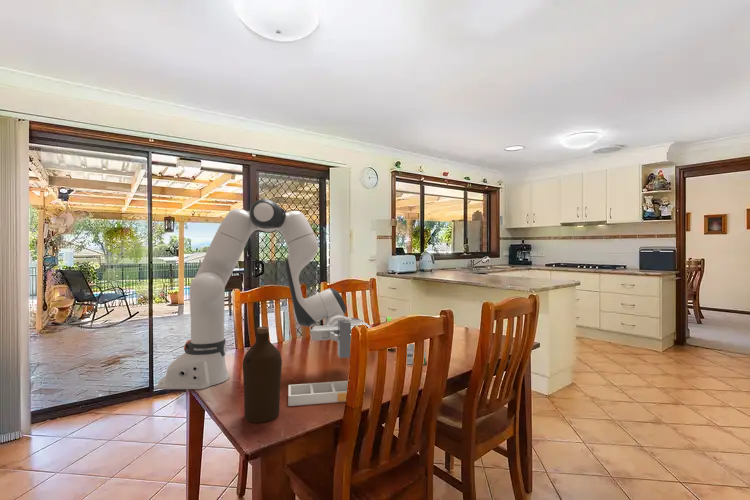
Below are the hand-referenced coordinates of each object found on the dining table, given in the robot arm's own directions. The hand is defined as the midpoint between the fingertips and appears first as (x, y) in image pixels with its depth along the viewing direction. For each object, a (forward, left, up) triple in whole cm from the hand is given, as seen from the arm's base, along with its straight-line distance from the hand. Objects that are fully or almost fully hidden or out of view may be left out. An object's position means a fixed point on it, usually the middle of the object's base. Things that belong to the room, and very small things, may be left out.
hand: (344, 337), depth 121 cm
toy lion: (+29, +55, -19) cm, 65 cm away
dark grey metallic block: (0, +1, -6) cm, 6 cm away
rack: (-7, +1, -19) cm, 20 cm away
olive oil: (-25, -9, -19) cm, 32 cm away
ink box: (+34, +30, -19) cm, 49 cm away
